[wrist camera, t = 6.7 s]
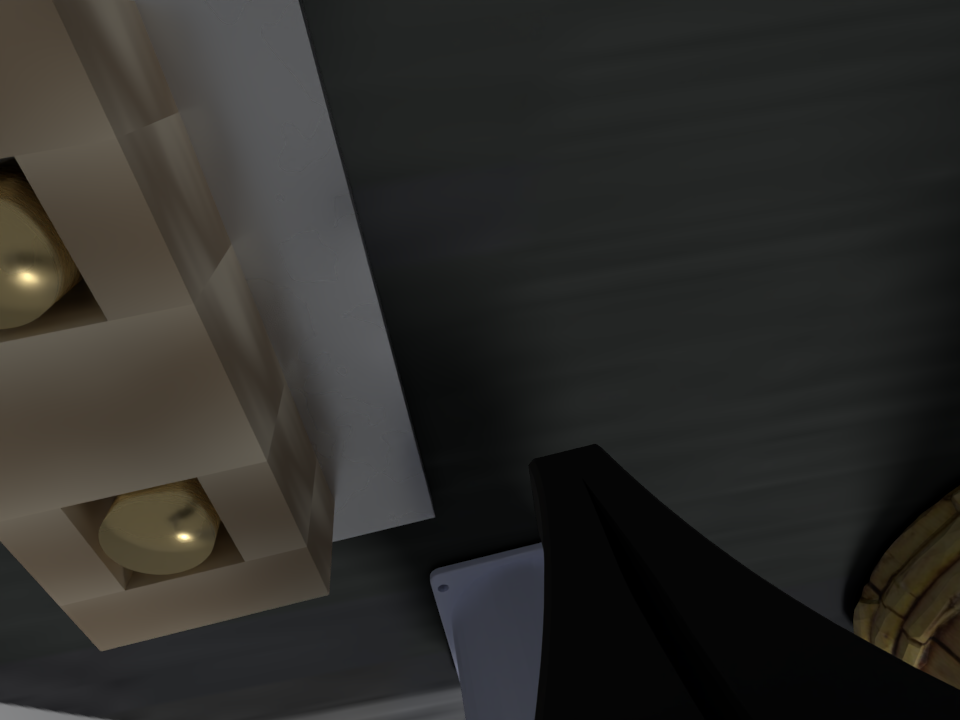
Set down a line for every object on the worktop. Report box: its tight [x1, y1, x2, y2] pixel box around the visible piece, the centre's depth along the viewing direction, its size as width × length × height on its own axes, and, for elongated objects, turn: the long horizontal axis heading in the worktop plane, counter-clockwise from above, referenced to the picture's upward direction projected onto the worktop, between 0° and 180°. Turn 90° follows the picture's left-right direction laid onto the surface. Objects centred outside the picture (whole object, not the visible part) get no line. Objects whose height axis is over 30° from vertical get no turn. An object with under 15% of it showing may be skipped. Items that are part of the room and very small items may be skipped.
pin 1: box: [0, 158, 83, 329], centre depth 12 cm, size 3×3×4 cm
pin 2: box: [99, 477, 221, 575], centre depth 16 cm, size 3×3×4 cm
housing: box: [0, 0, 335, 651], centre depth 14 cm, size 16×7×4 cm, turn 8°
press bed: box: [0, 0, 435, 542], centre depth 17 cm, size 20×14×1 cm
